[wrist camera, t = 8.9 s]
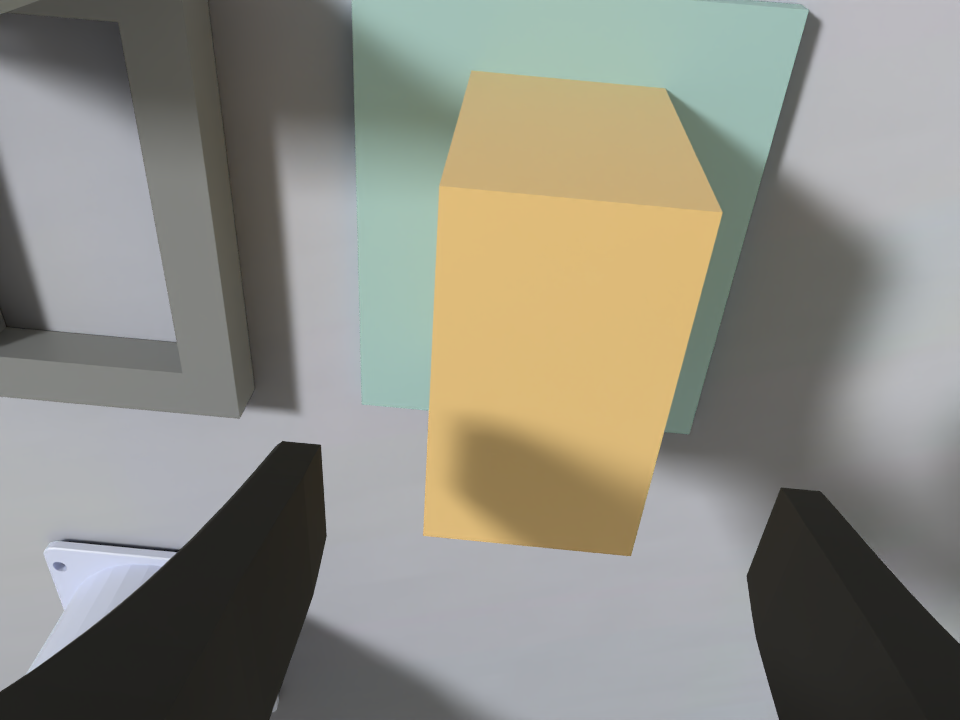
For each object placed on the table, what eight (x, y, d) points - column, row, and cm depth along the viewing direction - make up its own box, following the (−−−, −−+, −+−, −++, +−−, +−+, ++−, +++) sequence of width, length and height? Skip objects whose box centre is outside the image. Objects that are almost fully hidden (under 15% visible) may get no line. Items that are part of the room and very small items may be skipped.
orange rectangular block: (608, 369, 23) (631, 556, 17) (453, 354, 23) (423, 535, 17) (665, 88, 18) (722, 212, 12) (471, 70, 18) (439, 185, 12)
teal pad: (686, 422, 24) (689, 434, 24) (365, 392, 25) (361, 404, 24) (801, 4, 18) (808, 9, 17) (356, -33, 18) (351, -29, 17)
